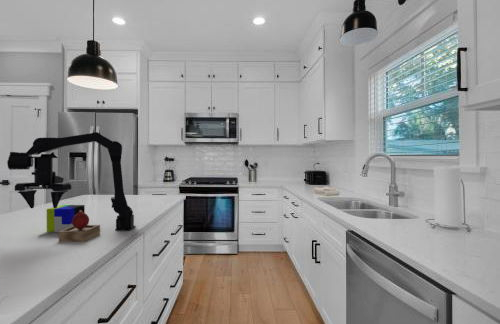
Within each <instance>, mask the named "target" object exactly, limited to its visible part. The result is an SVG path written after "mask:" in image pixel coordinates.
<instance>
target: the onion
mask: <svg viewBox="0 0 500 324" xmlns="http://www.w3.org/2000/svg"><path fill="white" fill-rule="evenodd" d="M89 223H90V217H89V215H88V214H87V213H86V212H85V213H83V212H82V211H81V210H80V211H79V213H78V214H76V215H75V216H74V217H73V219H72V225H73V226H74V227H75V228H77V229H79V230H82V229H83V228H85V227H86V226H87V225H89Z"/></svg>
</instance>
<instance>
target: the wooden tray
mask: <svg viewBox="0 0 500 324" xmlns="http://www.w3.org/2000/svg"><path fill="white" fill-rule="evenodd" d="M100 234H101V225H100V224H88V225H87V226H86V227H85V228H83V229H82V230H79V229H77V228H75V227H74V226H72V227H69V228H67V229H64V230H61V231H59V232H58V242H87V241H88V240H91V239H93V238H94V237H95V238H96V236H98V235H100Z"/></svg>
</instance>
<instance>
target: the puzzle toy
mask: <svg viewBox="0 0 500 324" xmlns="http://www.w3.org/2000/svg"><path fill="white" fill-rule="evenodd" d="M85 207H86V206H85V204H62V205H58V206H57V208H53V207H50V208H46V232H48V233H52V232H54V233H57V232H58V233H59V231H61V230H64V229H67V228H69V227H72V226H73V225H72V219H73V217H74V216H75V215H76V214H78V213H79V211H80V210H81V211H82V212H83V213H85V214H86V212H85Z"/></svg>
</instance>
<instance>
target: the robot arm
mask: <svg viewBox="0 0 500 324" xmlns="http://www.w3.org/2000/svg"><path fill="white" fill-rule="evenodd" d="M90 143H97V144H99V145H101V146H103V147H104V148H105V149H107V151H108V154H109V158H110V161H111V168H112V178H113V179H112V180H113V186H114V188H113V189H114V194H113V195H114V196H111V197H110V201H111V209H113V212H115V213H116V214H118V215H117V216H116V219H115V229H114V231H131V230H133V229H134V228H135V227H136V225H134V224H135V221H134V220H135V215H134V214H133V213H134V212H133V209H132V208H131V207H130V206H129V205H128V202H127V198H126V196H125V192H124V183H123V182H124V181H123V171H122V156H123V155H122V154H123V153H122V152H123V145H122V144H121V143H120V142H119V141H116V140H115V141H114V140H111V139H110V138H107V137H106V136H104V135H102V134H101V133H100V132H97V131H93V132H91V133H85V134H84V133H83V134H78V135H71V136H63V137H38V138H35V139H34V141H33V142H32V146H31V147H30V148H29V149H28V150H27V151H26V152H18V151H17V152H16V151H9V155H8V159H7V163H6V164H7V167H8V170H11V171H12V170H20V171H21V170H30V168H33V167H34V169H33V170H34V171H32V172H31V175H34V176H33V177H34V181H33V182H19V183H16V184H15V185H14V191H15V192H17V194H20V195H21V196H22V198H23V199H24V200H25V201H26V203H27V205H28V207H29V208H30V209H34V208H35V196H36V195H35V194H36V192H37V191H38V190H51V191H50V197H51V203H52V208H57V206H59V203H60V201H61V198H62V197H63V196H64V194H65V193H67V192H68V191H70V190H72V184H71V183H70V182H64V181H65V178H64V177H62V176H58V175H56V174H57V173H56V171H53V166H54V165H53V164H54V163H53V160H54V159H58V158H59V156H58V155H57V154H56V153H55V152H53V151H56V150H60V149H62V148H65V147H70V146H75V145H76V146H77V145H83V144H90ZM50 152H51V153H50ZM39 155H40V156H39Z"/></svg>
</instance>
